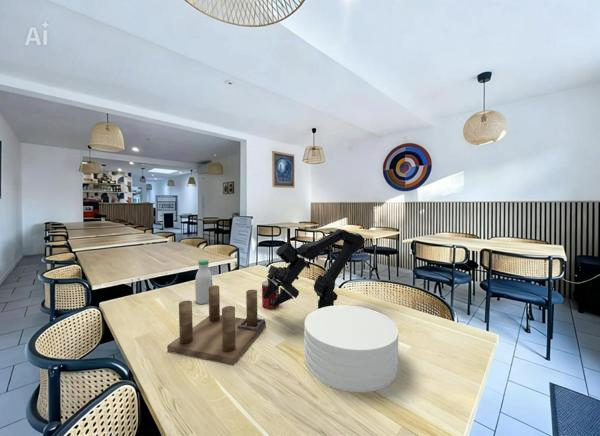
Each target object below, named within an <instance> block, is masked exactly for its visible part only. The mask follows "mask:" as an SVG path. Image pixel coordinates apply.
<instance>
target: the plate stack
mask: <svg viewBox="0 0 600 436" xmlns="http://www.w3.org/2000/svg"><path fill="white" fill-rule="evenodd" d="M303 325H304V329H303V330H304V334H303V335H304V339H303V340H304V341H303V342H304V346H303V347H304V349H303V352H304V353H303V356H304V357H303V358H304V359H303V360H304V364H305V367H306V369H307V370H308V372H309V373H310V374H311V376H313V377H314V378H315V379H316V380H318V381H320V382H321V383H322V384H324V385H326V386H329V387H330V388H334V389H335V390H336V389H337V390H340V391H344V392H349V393H350V392H351V393H369V392H374V391H375V390H376V391H378V390H382V389H384V388H386V387H387V386H389V385H391V383H393V382H394V380H395V379H396V377H397V375H398V369H399V368H398V366H399V365H398V361H399V359H398V358H399V335H400V334H399V333H400V332H399V327H398V325H397V324H396V323H395V322H394V320H392V319H391V317H388V316H387V315H385V314H383V313H381V312H379V311H376V310H374V309H370V308H366V307H362V306H356V305H345V304H342V305H341V304H340V305H338V304H337V305H334V306H328V307H323V308H320V309H318V308H317V309H315V310H313V311H311V312H310V313H308V315H307V316H306V317H305V318H304V324H303ZM381 388H382V389H381ZM376 391H375V392H376Z"/></svg>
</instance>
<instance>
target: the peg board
mask: <svg viewBox="0 0 600 436" xmlns="http://www.w3.org/2000/svg"><path fill="white" fill-rule="evenodd" d="M220 296H221V295H220V286H219V285H212V286H210V287H209V303H208V315H207V317H205V318H204V319H203V320H201V321H200V322H199V323H197V324H195V325H194V326H193V301H192V300H182V301H180V302H179V303H178V322H179V325H178V326H179V328H178V329H179V337H178V338H175V340H173V341H171V342H170V343H169V344H167V352H168V353H174V354H179V355H184V356H189V357H194V358H199V359H203V360H204V359H205V360H210V361H214V362H219V363H224V364H231V365H235V364H236V363H237V362H238V360H239V359H240V358H241V357H242V355H243V354H245V352H246V351H247V349H249V347H251V345H252V343H254V341H256V339H257V338H258V337H259V336H260V334H261V333H262V332H263V331H264V329H265V328H266V327H267V325H266V323H267V322H266V319H265V318H264V319H263V318H258V317H257V323H258V325H257V326H256V327H249V326H247V317H246V318H242V317H236V307H235V306H233V305H227V306H223V307H222V308H220V304H221V303H220V301H221V299H220ZM220 313H221V314H220Z"/></svg>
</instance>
